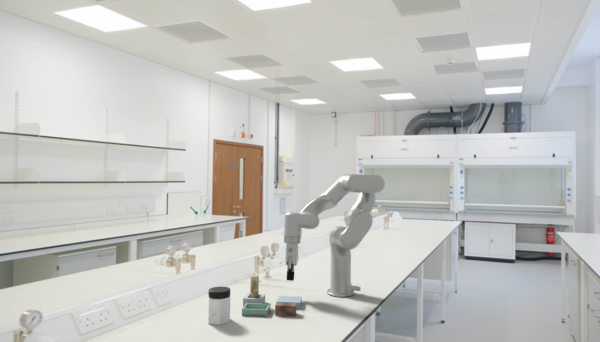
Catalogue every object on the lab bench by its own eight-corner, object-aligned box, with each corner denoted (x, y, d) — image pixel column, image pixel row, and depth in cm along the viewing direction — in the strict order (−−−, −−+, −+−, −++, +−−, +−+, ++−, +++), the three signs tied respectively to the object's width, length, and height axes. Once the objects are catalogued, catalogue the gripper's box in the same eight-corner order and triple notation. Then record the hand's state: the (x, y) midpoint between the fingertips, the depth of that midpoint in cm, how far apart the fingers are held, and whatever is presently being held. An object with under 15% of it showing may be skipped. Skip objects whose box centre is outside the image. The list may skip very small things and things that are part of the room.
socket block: (265, 302, 180) (265, 294, 180) (261, 307, 172) (261, 299, 172) (247, 301, 181) (247, 293, 181) (242, 306, 173) (243, 298, 173)
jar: (202, 323, 153) (203, 290, 153) (213, 316, 161) (214, 285, 161) (224, 326, 150) (225, 293, 150) (234, 319, 158) (235, 287, 158)
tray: (270, 310, 169) (270, 303, 169) (266, 316, 161) (267, 310, 161) (246, 309, 170) (246, 302, 170) (241, 315, 162) (241, 309, 162)
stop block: (296, 313, 166) (296, 303, 166) (295, 316, 162) (295, 306, 162) (276, 312, 166) (276, 302, 167) (275, 315, 163) (275, 305, 163)
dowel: (259, 303, 178) (259, 275, 178) (257, 305, 175) (257, 277, 175) (251, 303, 178) (251, 275, 179) (249, 305, 175) (249, 277, 175)
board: (301, 303, 180) (301, 296, 180) (300, 310, 171) (300, 302, 171) (279, 302, 181) (279, 295, 181) (276, 309, 172) (276, 301, 172)
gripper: (298, 242, 180) (296, 284, 179) (301, 238, 195) (299, 277, 194) (281, 241, 180) (279, 283, 180) (286, 237, 195) (284, 275, 195)
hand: (290, 280), depth 187 cm, fingers closed
